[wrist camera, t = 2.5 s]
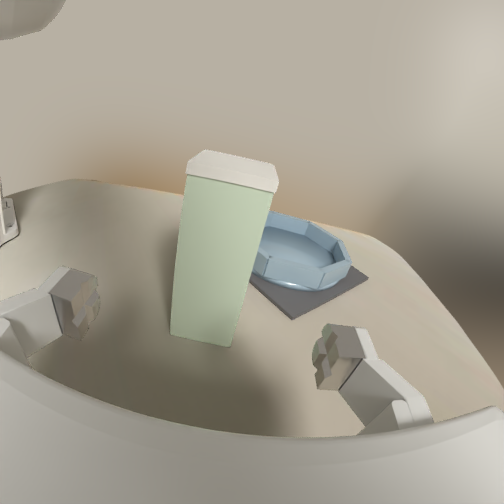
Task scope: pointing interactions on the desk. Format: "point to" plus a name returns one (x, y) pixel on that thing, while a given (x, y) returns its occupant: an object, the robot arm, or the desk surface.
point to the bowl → (299, 255)
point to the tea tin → (218, 243)
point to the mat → (305, 293)
